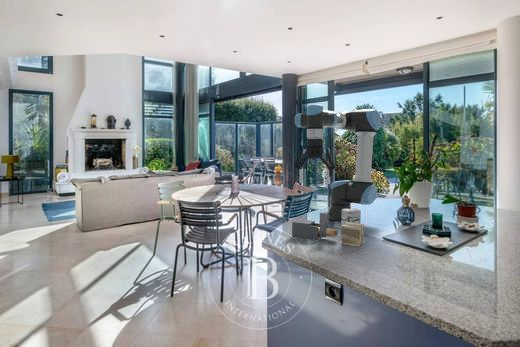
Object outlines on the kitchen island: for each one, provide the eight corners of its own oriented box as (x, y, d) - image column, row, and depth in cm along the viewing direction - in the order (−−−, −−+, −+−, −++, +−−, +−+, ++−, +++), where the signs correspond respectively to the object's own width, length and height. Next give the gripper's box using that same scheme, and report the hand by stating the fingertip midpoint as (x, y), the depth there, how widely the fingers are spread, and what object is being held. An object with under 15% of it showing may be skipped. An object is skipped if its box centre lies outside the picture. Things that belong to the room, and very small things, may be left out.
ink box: (345, 233, 168) (345, 210, 167) (340, 231, 173) (341, 208, 172) (360, 232, 170) (361, 209, 169) (355, 230, 175) (356, 208, 174)
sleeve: (297, 233, 169) (297, 219, 168) (322, 236, 163) (322, 221, 162) (292, 237, 163) (292, 221, 162) (317, 240, 157) (317, 224, 156)
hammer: (302, 232, 166) (302, 209, 165) (337, 236, 158) (338, 212, 157) (298, 234, 163) (298, 210, 161) (335, 238, 154) (335, 214, 153)
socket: (346, 239, 158) (346, 222, 157) (363, 242, 154) (363, 223, 153) (341, 244, 151) (341, 225, 150) (359, 246, 147) (359, 227, 146)
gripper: (287, 138, 159) (287, 182, 161) (339, 137, 147) (338, 185, 149) (292, 138, 165) (292, 181, 167) (343, 138, 154) (342, 183, 156)
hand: (314, 183), depth 158 cm, fingers open, 13 cm apart
